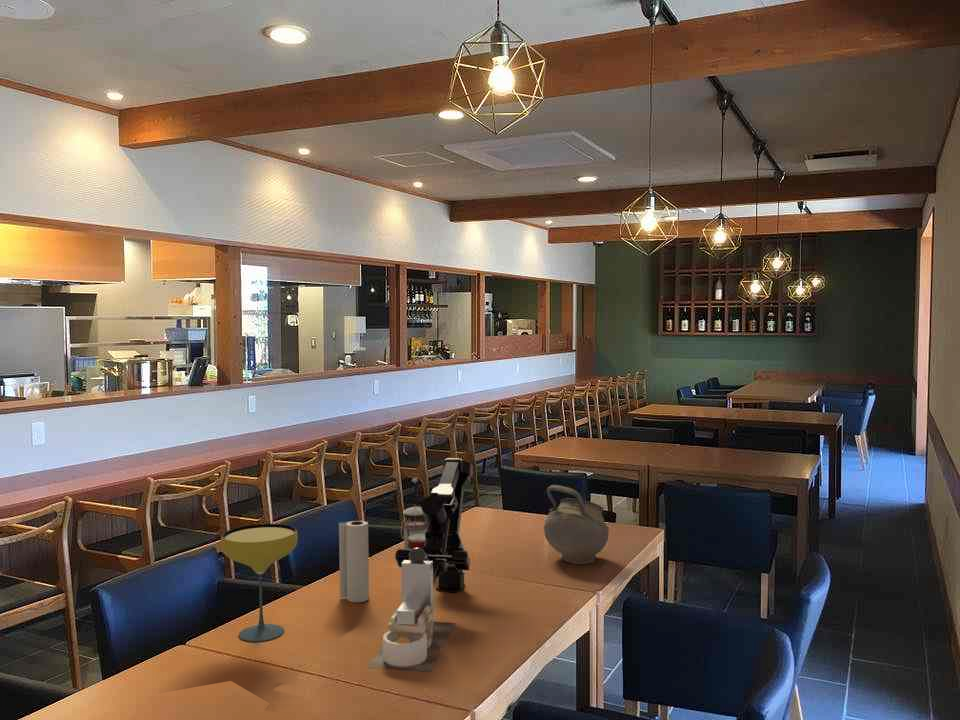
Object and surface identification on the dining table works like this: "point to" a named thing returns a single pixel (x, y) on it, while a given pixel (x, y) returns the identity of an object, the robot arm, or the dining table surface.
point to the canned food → (416, 540)
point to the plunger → (416, 587)
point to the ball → (403, 640)
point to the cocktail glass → (259, 563)
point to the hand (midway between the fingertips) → (427, 590)
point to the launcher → (421, 626)
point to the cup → (404, 649)
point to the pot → (575, 527)
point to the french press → (413, 522)
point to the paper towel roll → (354, 561)
